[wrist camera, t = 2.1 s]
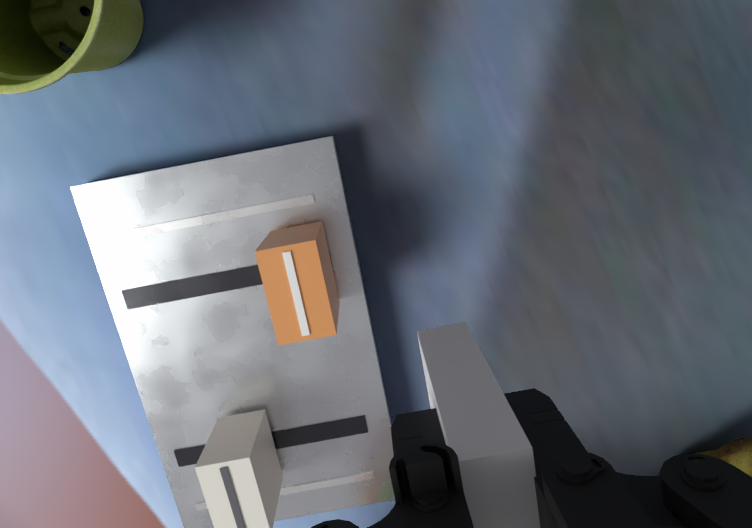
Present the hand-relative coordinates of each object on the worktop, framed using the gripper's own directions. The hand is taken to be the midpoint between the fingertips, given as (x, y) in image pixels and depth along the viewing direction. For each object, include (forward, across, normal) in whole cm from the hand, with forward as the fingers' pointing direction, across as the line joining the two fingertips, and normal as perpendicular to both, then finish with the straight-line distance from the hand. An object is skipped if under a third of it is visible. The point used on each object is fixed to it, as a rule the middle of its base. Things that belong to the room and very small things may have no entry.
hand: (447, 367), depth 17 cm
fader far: (+16, -12, -11) cm, 22 cm away
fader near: (+15, -6, 0) cm, 17 cm away
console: (+18, -10, -5) cm, 21 cm away
